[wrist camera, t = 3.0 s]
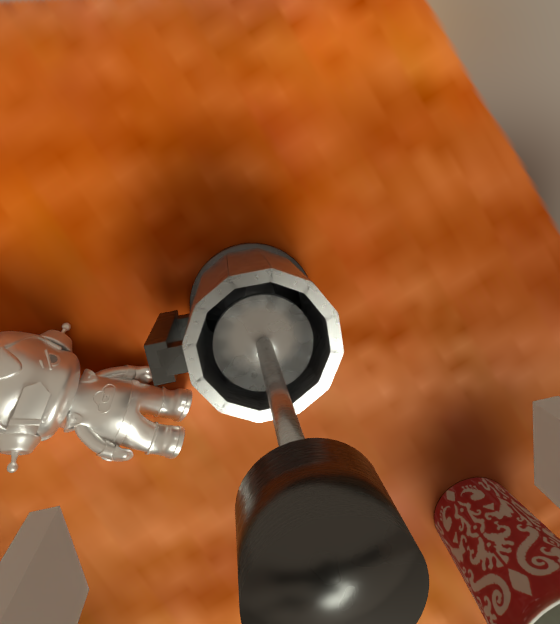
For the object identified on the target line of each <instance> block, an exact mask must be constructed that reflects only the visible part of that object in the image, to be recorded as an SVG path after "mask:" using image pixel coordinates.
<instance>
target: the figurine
mask: <svg viewBox="0 0 560 624" xmlns="http://www.w3.org/2000/svg"><path fill="white" fill-rule="evenodd" d="M70 329H71V325H70V324H69V323H64V324H63V325H62V331H61V332H60V331H57V330H48V331H46V332H44V333H42V334H40V335H37V334H32V333H26V332H19V331H3V332H0V453H2V454H7V455H11V458H12V460H11V463H10V464H8V466H7V471H8V472H10V473H13V472H15V471H16V470H17V469H18V464H17V463H16V460H17V457H18V456H19V455H26V454H30V453H32V452H33V450H34V449H35V447H36V446H37V445H38V444H39V443H40V441H44V440H47V439H49V438H50V437H52V436H53V435H54V434H55V432H56V431H57V430H58V428H59V427H61V428H64V432H71V431H73V430H75V432H76V434H77V436H78V437H79V439H80V440H81V441H82V442H83V443H84V444H85V445H86V446H87V447H88V448H89V449H91V450H92V451H93V452H95V453H97V456H99V457H101V458H102V459H104V460H107V461H127V460H130V459H131V458H133V452H132V451H131V450H130V449H122V448H120V447H119V446H120V445H121V446H124V447H128V448H131V449H136V450H140V451H144V452H145V454H146V455H148V454H157V455H161V456H165V457H166V458H170V459H173V458H175V457H176V456H177V455H178V454H179V452H180V450H181V447H182V444H183V441H184V436H185V430H184V427H182V426H173V425H164V424H159V423H158V422H152V421H150V420H148V419H146V418H145V417H144V416H143V414H144V415H153V416H154V417H158V416H159V417H165V418H169V419H172V420H174V421H177V422H180V421H182V420H183V419H184V418H185V416H186V415H187V413H188V411H189V409H190V406H191V402H192V391H191V390H188V389H181V388H179V389H176V390H169V389H166V387H162V388H159V387H156V386H152V385H148V383H150V382H151V381H152V380H153V379H152V375H151V371H150V368H149V366H132V365H124V366H119V367H112V368H108V369H104V370H101V371H98V372H96V373H94V372H93V371H92V370H90V369H85V370H84V372H83V375H82V376H81V378H80V363H79V360H78V358H77V356H76V355H75V354H74V353H73V351H72V340H71V339H70V337H68V336H67V335H66V334H65V332H66V331H68V330H70ZM79 379H80V380H79Z"/></svg>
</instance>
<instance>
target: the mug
mask: <svg viewBox="0 0 560 624" xmlns="http://www.w3.org/2000/svg"><path fill="white" fill-rule="evenodd" d="M434 520H435V526H436V529H437V531H438V533H439V535H440V537H441V539H442V541H443V542H444V544H445V546H446V548H447V549H448V551H449V553H450V555H451V557H452V559H453V560H454V562H455V564H456V566H457V568H458V569H459V571H460V573H461V575H462V577H463V579H464V581H465V583H466V584H467V586H468V588H469V590H470V592H471V594H472V595H473V597H474V599H475V601H476V603H477V605H478V607H479V608H480V610H481V612H482V614H483V616H484V618H485V620H486V622H487V624H560V539H559V538H557V537H556V536H555V535H554V534H553V533H552V532H551V531H550V530H549V529H548V528H547V527H546V526H545V525H544V524H543V523H541V522H540V521H539V520H538V519H537V518H536V517H535V516H534V515H533V514H532V513H530V512H529V511H528V510H527V509H526V508H525V507H524V506H523V505H522V504H521V503H519V502H518V501H517V500H516V499H515V498H514V497H513V496H512V495H511V494H510V493H509V492H508V491H507V490H506V489H505V488H503V487H502V486H501V485H500V484H498V483H497V482H495V481H493V480H490V479H487V478H470V479H466V480H463V481H461V482H459V483H457V484H455V485H454V486H452V487H451V488H449V489H448V490H447V491H446V492H445V493H444V494H443V496H442V497H441V498H440V500H439V502H438V504H437V506H436V509H435V514H434Z"/></svg>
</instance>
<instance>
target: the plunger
mask: <svg viewBox="0 0 560 624" xmlns="http://www.w3.org/2000/svg"><path fill="white" fill-rule="evenodd" d="M312 351H313V333H312V329H311V326H310V323H309V321H308V320H307V318H306V316H305V315H304V313H303V312H302V311H301V309H300V308H299V307H298V306H297V305H296V304H294V303H293V302H292V301H290V300H288V299H287V298H285V297H282V296H280V295H276V294H271V293H256V294H251V295H247V296H245V297H242V298H240V299H239V300H237V301H235V302H234V303H232V304H231V305H230V306H229V307H228V308H227V309H226V310H225V311H224V312H223V313H222V315H221V316H220V318H219V320H218V322H217V324H216V326H215V330H214V334H213V353H214V357H215V361H216V363H217V365H218V367H219V369H220V370H221V372H222V373H223V374H224V375H225V377H227V378H228V379H229V380H230V381H231V382H233V383H234V384H236V385H238V386H240V387H242V388H244V389H247V390H252V391H266V393H267V397H268V401H269V406H270V410H271V414H272V419H273V423H274V427H275V432H276V436H277V440H278V445H279V447H277V448H275V449H274V450H272V451H270V452H269V453H267V454H266V455H264V456H263V457H262V458H261V459H260V460H258V461H257V462H256V463H255V464H254V465H253V466H252V468H251V469H250V470H249V471H248V473H247V474H246V476H245V477H244V479H243V481H242V483H241V485H240V487H239V490H238V493H237V497H236V503H235V520H236V541H237V563H238V584H239V606H240V617H241V623H242V624H416V623H417V622H418V620H419V618H420V617H421V614H422V612H423V610H424V607H425V604H426V601H427V597H428V590H429V574H428V569H427V565H426V562H425V559H424V557H423V555H422V553H421V551H420V550H419V548H418V546H417V544H416V542H415V541H414V539H413V537H412V535H411V533H410V532H409V530H408V528H407V526H406V524H405V523H404V521H403V519H402V517H401V516H400V514H399V512H398V510H397V508H396V507H395V505H394V503H393V501H392V499H391V498H390V496H389V494H388V492H387V490H386V489H385V487H384V485H383V483H382V482H381V480H380V478H379V476H378V474H377V473H376V471H375V469H374V467H373V465H372V464H371V463H370V462H369V460H368V459H367V458H366V457H365V456H364V455H363V454H362V453H360V452H359V451H358V450H356V449H355V448H353V447H351V446H349V445H347V444H345V443H342V442H339V441H336V440H331V439H325V438H307V439H305V438H304V435H303V433H302V430H301V427H300V424H299V421H298V418H297V415H296V412H295V409H294V406H293V403H292V400H291V398H290V395H289V392H288V389H287V386H286V385H288V384H289V383H291V382H292V381H294V380H295V379H296V378H297V377H298V376H299V375H300V374H301V373H302V372H303V371H304V369H305V368H306V366H307V365H308V362H309V360H310V358H311V355H312Z"/></svg>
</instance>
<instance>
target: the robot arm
mask: <svg viewBox="0 0 560 624" xmlns="http://www.w3.org/2000/svg"><path fill="white" fill-rule="evenodd" d="M533 437H534V483H535V486H536V487H537V488H539V489H540V490H541V491H542V492H543V493H544V494H545V495H546V496H547V497H548V498H549V499H550V500H551V501H552V502H553V503H554V504H555V505H557V506H558V507H559V508H560V397H559V396H556V397H551V398H547V399H542V400H538V401H533ZM88 591H89V587H88V584H87V581H86V579H85V576H84V573H83V570H82V567H81V565H80V562H79V559H78V556H77V553H76V551H75V548H74V545H73V542H72V539H71V536H70V534H69V531H68V528H67V525H66V522H65V520H64V517H63V514H62V511H61V508H60V506H57V507H52V508H48V509H43V510H39V511H34V512H30V513H29V515H28V516H27V518H26V520H25V521H24V523H23V525H22V526H21V528H20V530H19V531H18V533H17V535H16V536H15V538H14V540H13V541H12V543H11V545H10V546H9V548H8V550H7V551H6V553H5V555H4V556H3V558H2V560H1V561H0V624H78V621H79V618H80V615H81V612H82V609H83V606H84V603H85V600H86V597H87V594H88Z"/></svg>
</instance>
